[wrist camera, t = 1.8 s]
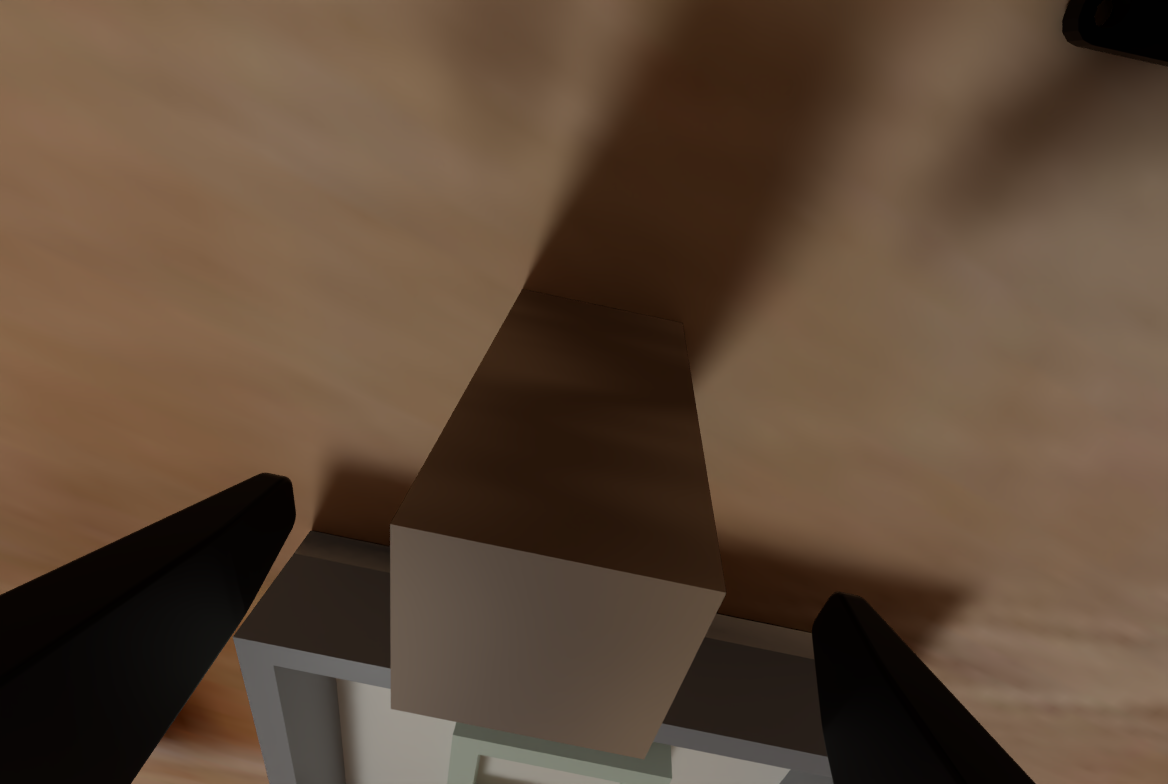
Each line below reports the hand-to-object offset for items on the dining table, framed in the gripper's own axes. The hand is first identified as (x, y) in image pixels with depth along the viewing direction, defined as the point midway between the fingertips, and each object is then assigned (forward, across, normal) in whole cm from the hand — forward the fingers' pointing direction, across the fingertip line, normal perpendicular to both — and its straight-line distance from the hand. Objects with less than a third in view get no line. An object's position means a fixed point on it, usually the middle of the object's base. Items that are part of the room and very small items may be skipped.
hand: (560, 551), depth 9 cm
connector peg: (+6, 0, 0) cm, 6 cm away
